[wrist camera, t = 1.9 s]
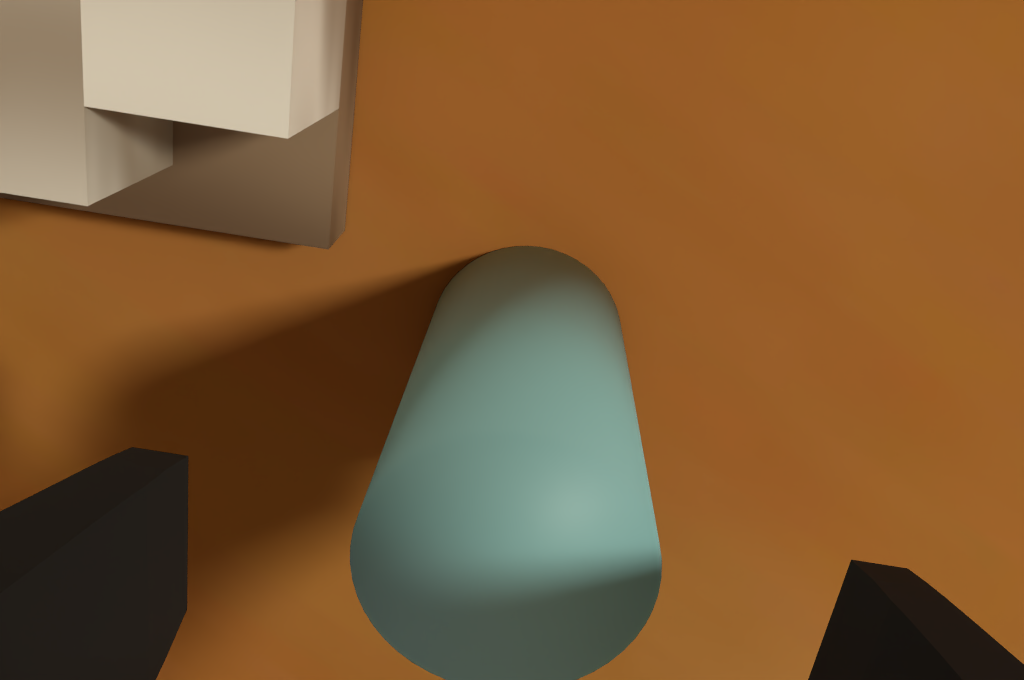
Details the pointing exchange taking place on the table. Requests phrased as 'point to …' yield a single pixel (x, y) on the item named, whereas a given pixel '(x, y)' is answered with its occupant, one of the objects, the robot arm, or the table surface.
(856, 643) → the robot arm
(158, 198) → the socket board
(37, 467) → the table surface
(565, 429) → the peg
